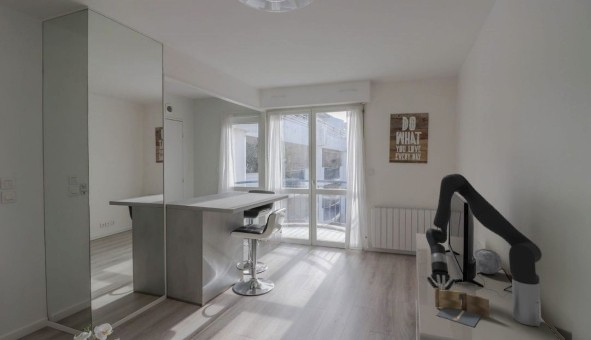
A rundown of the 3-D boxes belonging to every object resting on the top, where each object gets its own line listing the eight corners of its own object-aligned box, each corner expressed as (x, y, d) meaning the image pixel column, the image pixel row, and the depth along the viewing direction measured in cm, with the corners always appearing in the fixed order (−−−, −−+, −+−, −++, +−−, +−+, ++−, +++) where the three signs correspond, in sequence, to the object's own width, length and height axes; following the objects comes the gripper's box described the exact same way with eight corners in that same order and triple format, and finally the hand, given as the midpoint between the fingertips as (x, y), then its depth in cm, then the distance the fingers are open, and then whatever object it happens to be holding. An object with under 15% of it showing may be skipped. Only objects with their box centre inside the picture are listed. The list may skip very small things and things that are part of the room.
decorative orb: (502, 272, 183) (501, 247, 182) (501, 279, 171) (500, 253, 171) (474, 267, 191) (473, 244, 191) (471, 274, 180) (470, 250, 180)
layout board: (484, 311, 136) (484, 311, 136) (474, 327, 124) (473, 326, 124) (448, 302, 146) (448, 301, 146) (436, 315, 134) (436, 314, 134)
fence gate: (461, 307, 139) (461, 289, 139) (462, 309, 137) (462, 291, 137) (434, 305, 142) (434, 287, 142) (435, 307, 140) (435, 289, 140)
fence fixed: (489, 316, 132) (489, 298, 132) (488, 318, 130) (488, 300, 130) (462, 308, 139) (462, 291, 139) (461, 310, 138) (461, 293, 138)
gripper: (425, 259, 152) (427, 293, 141) (454, 261, 148) (459, 297, 136) (424, 266, 157) (427, 299, 146) (453, 268, 153) (457, 303, 142)
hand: (442, 298), depth 141 cm, fingers closed
